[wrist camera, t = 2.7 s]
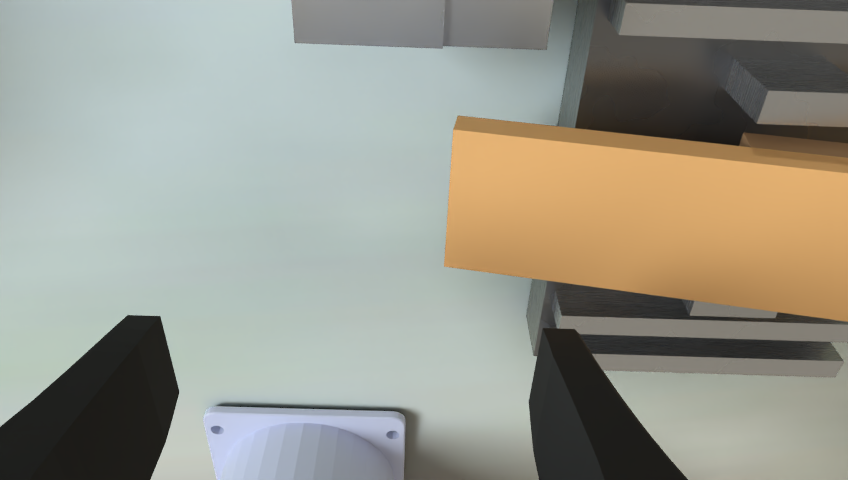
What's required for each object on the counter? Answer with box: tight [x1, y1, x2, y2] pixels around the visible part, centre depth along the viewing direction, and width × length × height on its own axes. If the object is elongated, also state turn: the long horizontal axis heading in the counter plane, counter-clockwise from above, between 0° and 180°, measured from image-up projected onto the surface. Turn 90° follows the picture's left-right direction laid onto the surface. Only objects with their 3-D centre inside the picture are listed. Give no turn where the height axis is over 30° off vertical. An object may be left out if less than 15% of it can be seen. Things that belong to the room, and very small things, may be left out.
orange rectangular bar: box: [444, 116, 848, 322], centre depth 16 cm, size 4×16×2 cm, turn 88°
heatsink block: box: [526, 0, 848, 377], centre depth 18 cm, size 14×10×4 cm
